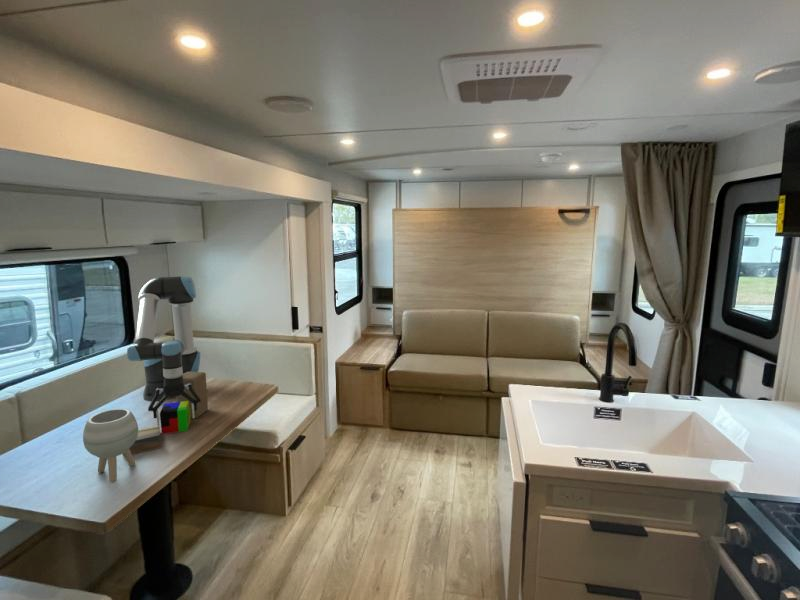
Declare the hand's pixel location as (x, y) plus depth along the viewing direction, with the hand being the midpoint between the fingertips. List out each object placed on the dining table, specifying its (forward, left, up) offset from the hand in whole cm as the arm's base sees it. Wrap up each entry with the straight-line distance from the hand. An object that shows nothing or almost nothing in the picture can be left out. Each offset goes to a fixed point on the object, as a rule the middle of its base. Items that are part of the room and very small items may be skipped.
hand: (176, 421), depth 180 cm
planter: (+28, -21, -3) cm, 35 cm away
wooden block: (-11, +8, -3) cm, 14 cm away
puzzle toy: (0, 0, -3) cm, 3 cm away
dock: (+9, -13, -3) cm, 16 cm away
